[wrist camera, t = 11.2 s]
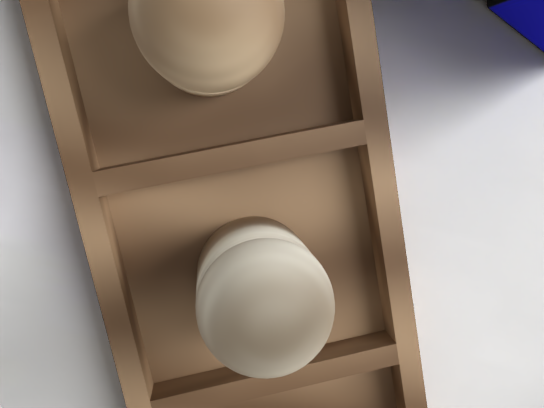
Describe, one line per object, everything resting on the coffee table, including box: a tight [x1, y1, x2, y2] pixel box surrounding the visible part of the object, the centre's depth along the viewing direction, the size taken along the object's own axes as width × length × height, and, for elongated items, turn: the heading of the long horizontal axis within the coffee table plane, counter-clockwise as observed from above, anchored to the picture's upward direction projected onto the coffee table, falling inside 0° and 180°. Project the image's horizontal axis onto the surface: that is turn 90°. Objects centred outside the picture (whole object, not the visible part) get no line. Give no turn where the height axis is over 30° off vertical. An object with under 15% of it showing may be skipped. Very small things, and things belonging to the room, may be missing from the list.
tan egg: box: [128, 0, 285, 97], centre depth 18 cm, size 5×5×7 cm
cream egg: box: [195, 216, 335, 379], centre depth 20 cm, size 5×5×7 cm
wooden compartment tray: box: [19, 0, 427, 408], centre depth 23 cm, size 31×13×2 cm, turn 10°
